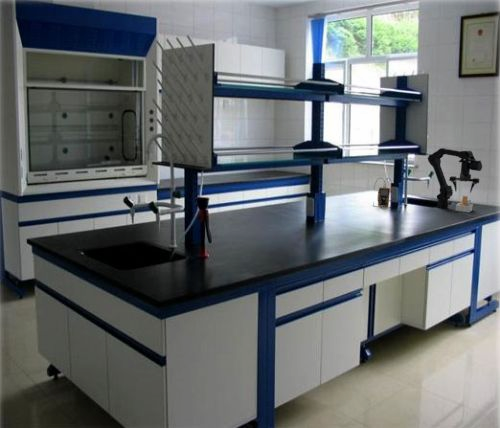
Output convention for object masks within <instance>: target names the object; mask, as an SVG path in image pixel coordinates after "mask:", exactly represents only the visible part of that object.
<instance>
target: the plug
mask: <svg viewBox="0 0 500 428" xmlns="http://www.w3.org/2000/svg"><path fill="white" fill-rule="evenodd" d="M468 197H469V196H468V195H463V196H462V201H461V202H458V203H459V205H465V206H469V205H470V204H471V203H469V204H468V205H466V202H467V201H468V200H469V198H468Z"/></svg>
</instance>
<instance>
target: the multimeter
mask: <svg viewBox="0 0 500 428" xmlns="http://www.w3.org/2000/svg"><path fill="white" fill-rule="evenodd" d="M379 179H380V177H379V178H377V179H376V181H375V184H374V186H373V189H375V188H376V187H375V186H376V183H377V182H378V180H379ZM381 179H382V180H383V183H384V186H383V187H382V186H381V187H378V191H377V192H378V193H377V206H376V205H375V203H373V205H372V206H374V207H376V208H378V207H379V208H382V207H385V208H389V207H390V206H389V205H390V198H393V196H392V195H391V190H392V188H393V186H391V187H387V183H386V181H387V179H388V178H386V179H385V180H384V178H383V177H381ZM389 180H390V182H391V183H393V182H392V180H391V178H389ZM390 195H391V197H390Z"/></svg>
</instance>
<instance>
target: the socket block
mask: <svg viewBox="0 0 500 428" xmlns="http://www.w3.org/2000/svg"><path fill="white" fill-rule="evenodd" d="M459 203H460V202H458V203H457V204H456V205H455V212H464V213H470V212H472V210H473V203H470V205H469V206H465V205H459Z"/></svg>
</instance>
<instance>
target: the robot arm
mask: <svg viewBox="0 0 500 428" xmlns="http://www.w3.org/2000/svg"><path fill="white" fill-rule="evenodd" d="M472 151H473V150H472ZM472 151H471V150H458V149H457V150H456V149H451V148H450V149H449V148H445V147H443V148H442V147H441V148H439V149H438V150H436V151H435V152H433V153H431V154H429V155H428V157H427V161H428V163H429V164H430V166H432V168H433V170H434V173H435V175H436V178H437V182H438V184H439V193H438V194H437V195H436V200H437V206H436V208H437V209H444V210H445V209H448V208H449V204H450V201H449V200H450V199H451V197H452V196H453V192H454V191H455V192H457V190H458V189H457V181H460V182H466V183H467V182H471V185H470V191H469V193H470V194H471V193H472V191H473V189H474V187H475V185H477V184H479V183H480V178H479V177H478V178H477V177H473V178H472V174H470V173H471V172H470V171H477V172H481V171H482V169H483V163H482V160H477V159H476V158H475V156H474V153H473V152H472ZM444 155H447V156H453V157H457V158H460V160H458V163H461V166H460V174H459V177H457V176H453V175H452V176H450V177H449V180H448V181H449V182H450V183H452V184H453V186H454V190H453V188H452V185H448V183H447V179H446V177H445V175H444V171H443V169H442V166H441V163H442V160H441V159H442V158H443V157H444Z"/></svg>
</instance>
